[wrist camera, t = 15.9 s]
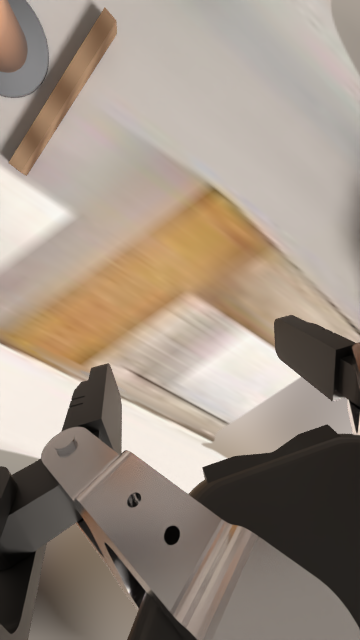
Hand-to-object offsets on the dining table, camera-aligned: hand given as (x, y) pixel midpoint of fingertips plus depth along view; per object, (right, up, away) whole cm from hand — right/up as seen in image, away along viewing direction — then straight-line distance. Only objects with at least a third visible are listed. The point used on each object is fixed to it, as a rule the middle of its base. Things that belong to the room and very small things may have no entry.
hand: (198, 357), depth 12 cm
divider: (-15, +29, +19) cm, 38 cm away
